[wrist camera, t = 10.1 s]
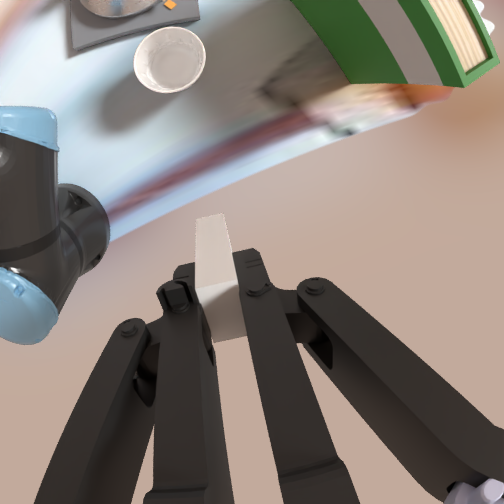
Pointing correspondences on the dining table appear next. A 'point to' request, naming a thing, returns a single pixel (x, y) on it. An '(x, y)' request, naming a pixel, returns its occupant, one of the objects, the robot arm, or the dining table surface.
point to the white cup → (169, 60)
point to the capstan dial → (119, 7)
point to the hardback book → (403, 40)
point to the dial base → (126, 21)
